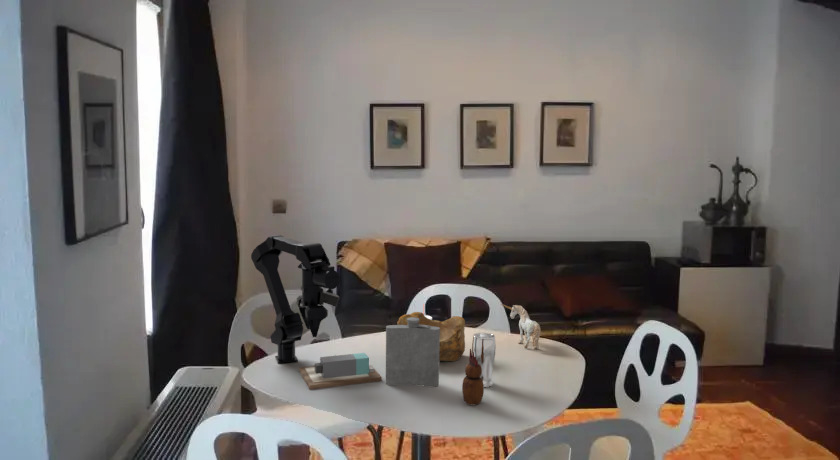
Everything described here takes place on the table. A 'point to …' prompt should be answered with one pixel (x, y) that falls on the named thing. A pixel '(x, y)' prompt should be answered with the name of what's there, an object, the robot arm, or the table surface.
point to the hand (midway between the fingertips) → (311, 332)
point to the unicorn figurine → (526, 326)
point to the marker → (343, 365)
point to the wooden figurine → (473, 382)
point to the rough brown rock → (444, 334)
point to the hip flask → (412, 354)
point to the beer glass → (485, 355)
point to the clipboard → (336, 378)
